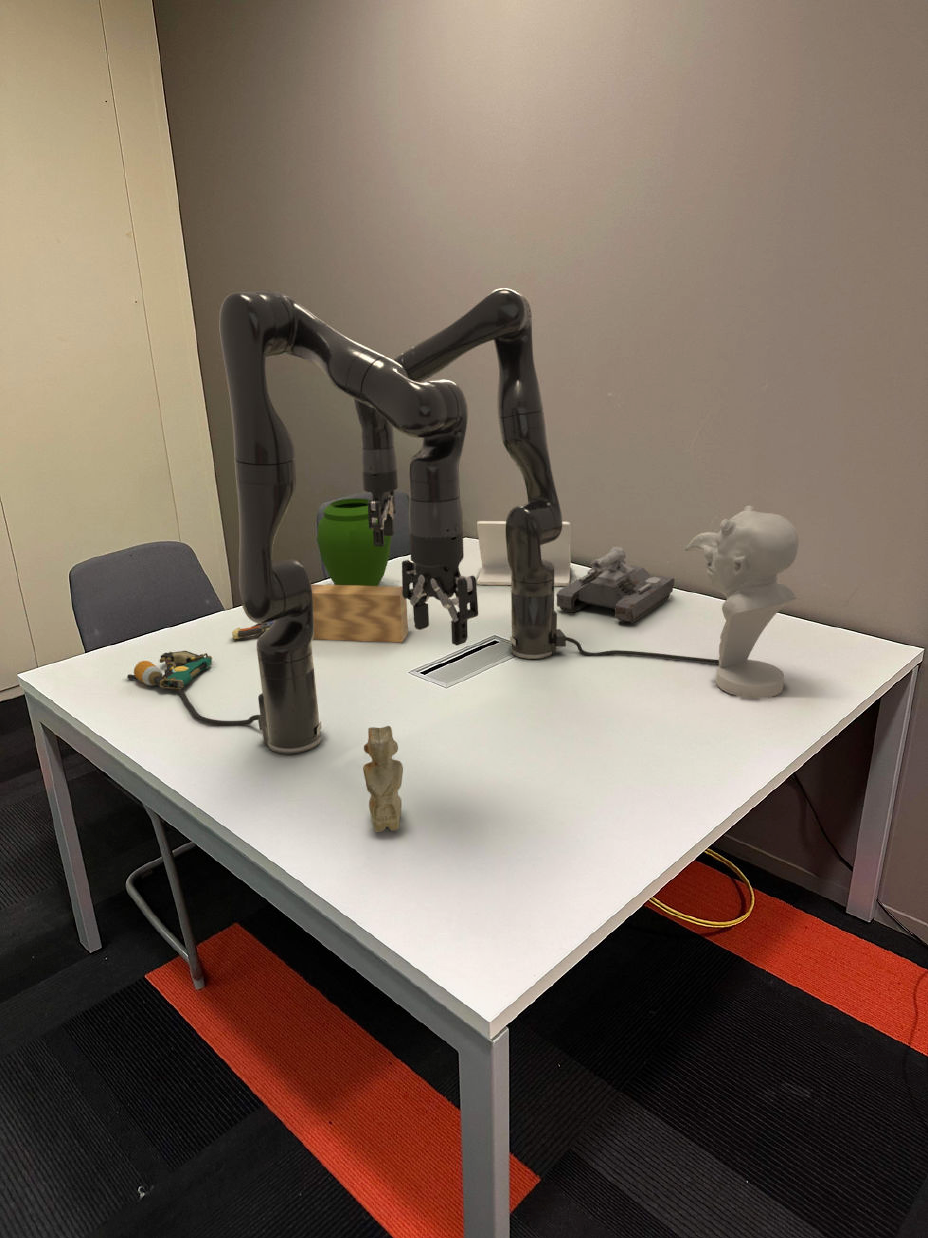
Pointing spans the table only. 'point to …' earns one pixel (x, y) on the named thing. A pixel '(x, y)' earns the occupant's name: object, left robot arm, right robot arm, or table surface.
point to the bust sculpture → (748, 593)
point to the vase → (351, 544)
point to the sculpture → (383, 778)
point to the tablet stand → (496, 554)
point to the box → (359, 613)
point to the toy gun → (251, 630)
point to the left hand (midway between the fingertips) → (440, 635)
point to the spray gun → (172, 669)
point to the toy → (616, 588)
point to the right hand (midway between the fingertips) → (384, 540)
